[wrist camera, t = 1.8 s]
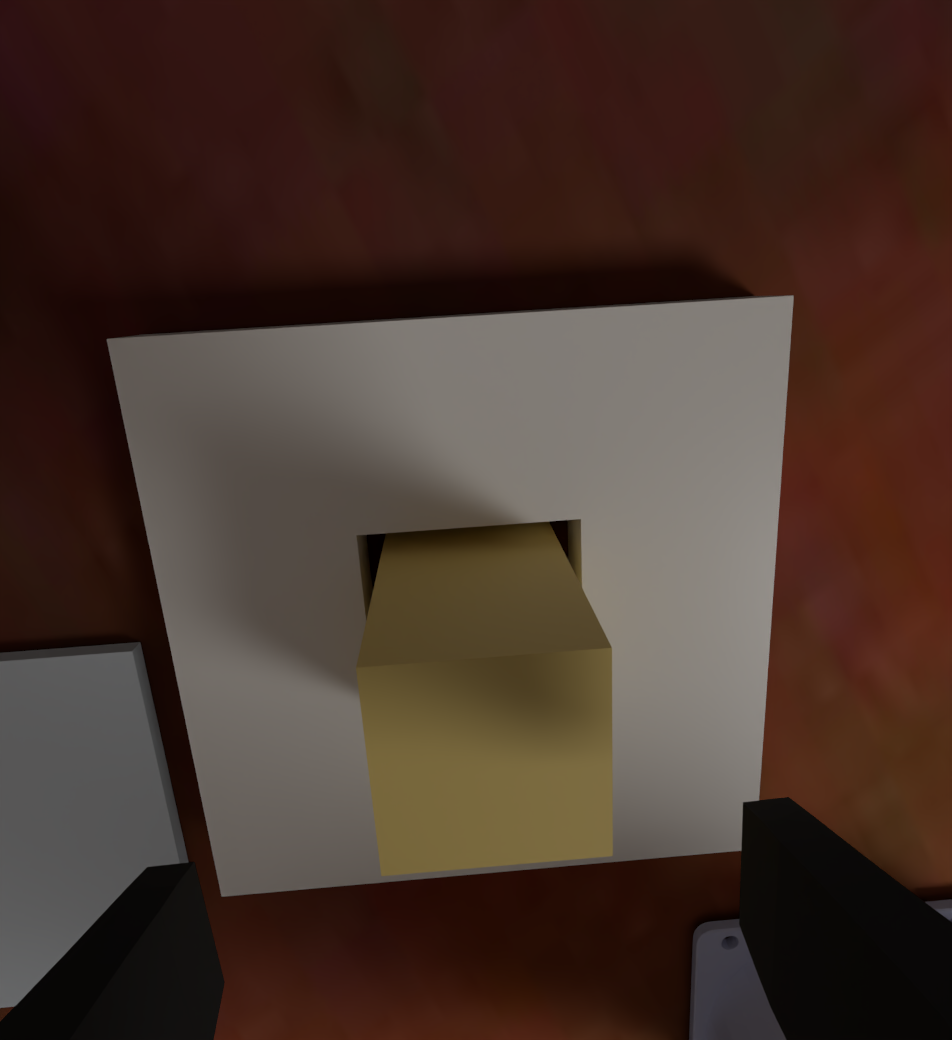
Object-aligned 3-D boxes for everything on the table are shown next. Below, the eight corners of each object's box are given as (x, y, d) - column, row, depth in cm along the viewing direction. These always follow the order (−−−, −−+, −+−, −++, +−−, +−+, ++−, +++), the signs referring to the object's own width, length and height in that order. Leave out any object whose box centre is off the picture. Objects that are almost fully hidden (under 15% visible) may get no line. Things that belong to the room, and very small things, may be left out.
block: (547, 517, 18) (612, 647, 11) (551, 661, 19) (613, 856, 12) (386, 529, 18) (355, 667, 11) (401, 673, 19) (381, 875, 12)
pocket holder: (756, 296, 17) (793, 295, 15) (728, 803, 21) (755, 849, 19) (141, 334, 16) (106, 339, 14) (239, 846, 20) (221, 896, 19)
